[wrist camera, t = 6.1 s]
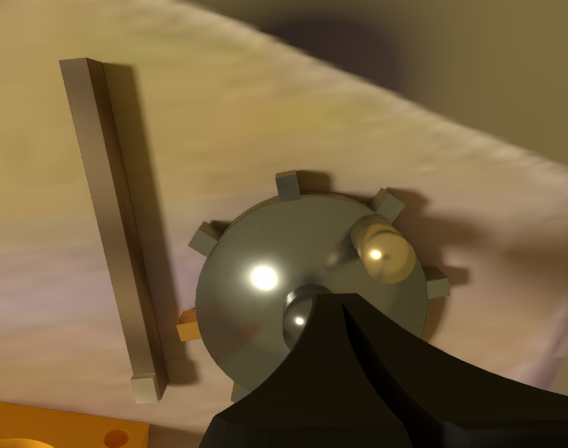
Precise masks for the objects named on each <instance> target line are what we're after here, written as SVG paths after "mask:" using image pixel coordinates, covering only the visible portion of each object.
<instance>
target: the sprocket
mask: <svg viewBox="0 0 568 448" xmlns="http://www.w3.org/2000/svg"><path fill="white" fill-rule="evenodd" d="M276 183H277V188H278V194H279V196H275V197H273V198H270V199H268V200H265V201H263V202H260V203H259V204H257V205H255V206H253V207H252V208H250V209H248V210H247V211H245V212H244V213H243V214H241V215H240V216H239V217H237V218H236V219H235V220H234V221H233V222H232V223H231V224H230V225H229V226H228V227H227V228H226V229H225V230H224V232H221V231H220V230H218V229H216V228H215V227H213V226H212V225H210V224H208V223H207V222H205V221H204V222H203V223H202V225H201V226H200V227H199V229H198V230H197V232H196V233H195V235H194V236H193V238H192V240H191V241H190V243H189V244H188V246H190V247H191V248H193V249H194V250H196V251H198V252H199V253H201V254H203V255H204V256H206V257H207V259H206V261H205V263H204V266H203V268H202V271H201V273H200V276H199V281H198V285H197V289H196V301H195V306H196V309H191V310H186V311H183V313H182V315H181V317H180V319H179V321H178V323H177V325H176V326H177V329H178V333H179V336H180V339H181V342H182V341H187V340H193V339H199V338H202V340H203V342H204V344H205V346H206V348H207V350H208V352H209V354H210V355H211V357H212V358H213V359H214V361H215V362H216V364H217V365H218V366H219V367H220V368H221V369H222V370H223V371H224V372H225V374H226V375H227V376H229V377H230V378H231V379H232V380H233V381H235V382H234V385H233V390H232V396H231V401H232V402H234V403H236V402H238V401H239V400H241V399H243V398H244V397H245V396H247V395H248V394H250V393H251V392H252V391H253V390H255V389H256V388H257V387H258V386H259V385H260V384H262V383H263V382H264V381H265V380H266V379H267V378H268V377H269V376H270V375H271V374H272V373H273V372H274V371H275V370H276V368H277V367H278V366H279V365H280V364H281V363H282V361H283V360H284V359H285V358H286V356H287V355H288V354H289V352H290V351H291V349H292V348H293V346H294V345H295V343H296V341H297V340H298V338H299V336H300V334H301V332H302V330H303V329H304V326H305V324H306V322H307V319H308V317H309V314H310V311H311V308H312V297H313V296H314V295H315V294H337V293H357V294H359V295H360V296H362V297H363V298H364V299H365V300H367V301H368V302H369V303H370V304H372V305H373V306H374V307H375V308H377V309H378V310H379V311H381V312H382V313H383V314H385V315H386V316H387V317H389V318H390V319H391V320H393V321H394V322H395V323H397V324H398V325H400V326H401V327H403V328H404V329H406V330H407V331H409V332H410V333H412V334H413V335H415V336H417V337H418V338H420V336H421V333H422V331H423V327H424V324H425V320H426V314H427V306H428V299H433V298H438V297H444V296H450V292H449V279H448V277H447V276H446V275H445V274H444V273H443V272H442V271H441V270H440V269H439V268H438V267H431V268H425V269H422V266H421V263H420V261H419V259H418V257H417V255H416V253H415V251H414V249H413V248H412V246H411V245H410V244H409V242H408V241H407V239H406V238H405V237H404V236H403V235H402V234H401V233H400V232H399V231H398V230H397V228H396V227H395V226H394V225H393V224H392V223H393V221H394V220H395V219H396V217H397V216H398V215H399V214H400V212H401V211H402V210H403V209H404V207H405V206H406V205H405V204H404V203H402V202H401V201H400V200H398V199H397V198H396V197H394V196H393V195H391V194H390V193H388V192H387V191H386V190H384V189H383V188H381V189H380V191H379V192H378V193H377V195H376V196H375V197H374V199H373V200H372V201H371V203H370V204H369V205H366V204H365V203H363V202H360V201H358V200H356V199H353V198H351V197H348V196H344V195H340V194H337V193H331V192H323V191H301V192H300V190H299V185H298V180H297V174H296V170H293V171H287V172H282V173H277V174H276Z"/></svg>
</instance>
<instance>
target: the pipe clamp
mask: <svg viewBox="0 0 568 448" xmlns="http://www.w3.org/2000/svg"><path fill="white" fill-rule="evenodd" d="M149 427H150V424H147V423H140V422H133V421H126V420H120V419H113V418H106V417H99V416H92V415H86V414H79V413H72V412H65V411H58V410H52V409H45V408H38V407H31V406H24V405H17V404H11V403H4V402H0V448H147V445H148V436H149Z"/></svg>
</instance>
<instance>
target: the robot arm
mask: <svg viewBox="0 0 568 448" xmlns="http://www.w3.org/2000/svg"><path fill="white" fill-rule="evenodd" d="M199 448H568V396H566V395H562V394H558V393H554V392H550V391H546V390H542V389H539V388H535V387H532V386H529V385H526V384H523V383H520V382H517V381H514V380H511V379H508V378H505V377H502V376H499V375H497V374H494V373H491V372H489V371H486V370H484V369H481V368H479V367H476V366H474V365H472V364H469V363H467V362H464V361H462V360H460V359H458V358H456V357H454V356H451V355H449V354H447V353H445V352H444V351H442V350H440V349H438V348H436V347H434V346H432V345H430V344H428V343H427V342H425V341H423V340H421V339H420V338H418V337H417V336H415V335H413V334H412V333H410V332H409V331H407V330H406V329H404V328H403V327H401V326H400V325H398V324H397V323H395V322H394V321H393V320H391V319H390V318H389V317H387V316H386V315H385V314H383V313H382V312H381V311H379V310H378V309H377V308H375V307H374V306H373V305H372V304H370V303H369V302H368V301H367V300H365V299H364V298H363V297H362V296H360V295H359V294H357V293H337V294H315V295H314V296H313V297H312V308H311V311H310V314H309V317H308V319H307V322H306V324H305V326H304V329H303V330H302V332H301V334H300V336H299V338H298V340H297V341H296V343H295V345H294V346H293V348H292V349H291V351H290V352H289V354H288V355H287V356H286V358H285V359H284V360H283V361H282V363H281V364H280V365H279V366H278V367H277V368H276V370H275V371H274V372H273V373H272V374H271V375H270V376H269V377H268V378H267V379H266V380H265V381H264V382H263V383H262V384H260V385H259V386H258V387H257V388H256V389H255V390H253V391H252V392H251V393H250V394H248V395H247V396H245V397H244V398H243V399H241V400H239V401H238V402H236V403H235V404H233V405H231V406H230V407H228V408H227V409H225V410H224V411H222V412H220V413H218V414H217V415H215V416H214V417H213V419H212V421H211V423H210V425H209V427H208V429H207V431H206V433H205V435H204V437H203V439H202V441H201V443H200V446H199Z"/></svg>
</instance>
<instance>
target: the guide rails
mask: <svg viewBox="0 0 568 448" xmlns="http://www.w3.org/2000/svg"><path fill="white" fill-rule="evenodd" d="M59 63H60V68H61V72H62V76H63V80H64V84H65V89H66V93H67V97H68V101H69V105H70V110H71V114H72V118H73V122H74V126H75V131H76V135H77V139H78V143H79V147H80V152H81V156H82V160H83V164H84V168H85V173H86V177H87V181H88V185H89V189H90V194H91V198H92V202H93V206H94V210H95V215H96V219H97V223H98V227H99V231H100V236H101V240H102V244H103V248H104V252H105V257H106V261H107V265H108V269H109V273H110V278H111V282H112V286H113V290H114V294H115V299H116V303H117V307H118V311H119V315H120V319H121V324H122V328H123V332H124V336H125V340H126V345H127V349H128V353H129V357H130V361H131V366H132V370H133V374H134V375H133V377H132V378H131V382H132V386H133V390H134V395H135V399H136V403H137V404H140V403H153V402H158V401H159V400H161V399H162V396H163V394H164V391H165V389H166V387H167V384H168V382H169V381H168V377H167V372H166V367H165V362H164V358H163V353H162V348H161V343H160V338H159V334H158V329H157V324H156V319H155V315H154V310H153V305H152V300H151V295H150V291H149V286H148V281H147V276H146V272H145V267H144V262H143V257H142V252H141V248H140V243H139V238H138V233H137V229H136V224H135V219H134V214H133V209H132V205H131V200H130V195H129V190H128V186H127V181H126V176H125V171H124V166H123V162H122V157H121V152H120V147H119V143H118V138H117V133H116V128H115V124H114V119H113V114H112V109H111V104H110V100H109V95H108V90H107V85H106V81H105V76H104V71H103V66H102V62H99V61H96V60H92V59H89V58H77V59H67V60H59Z"/></svg>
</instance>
